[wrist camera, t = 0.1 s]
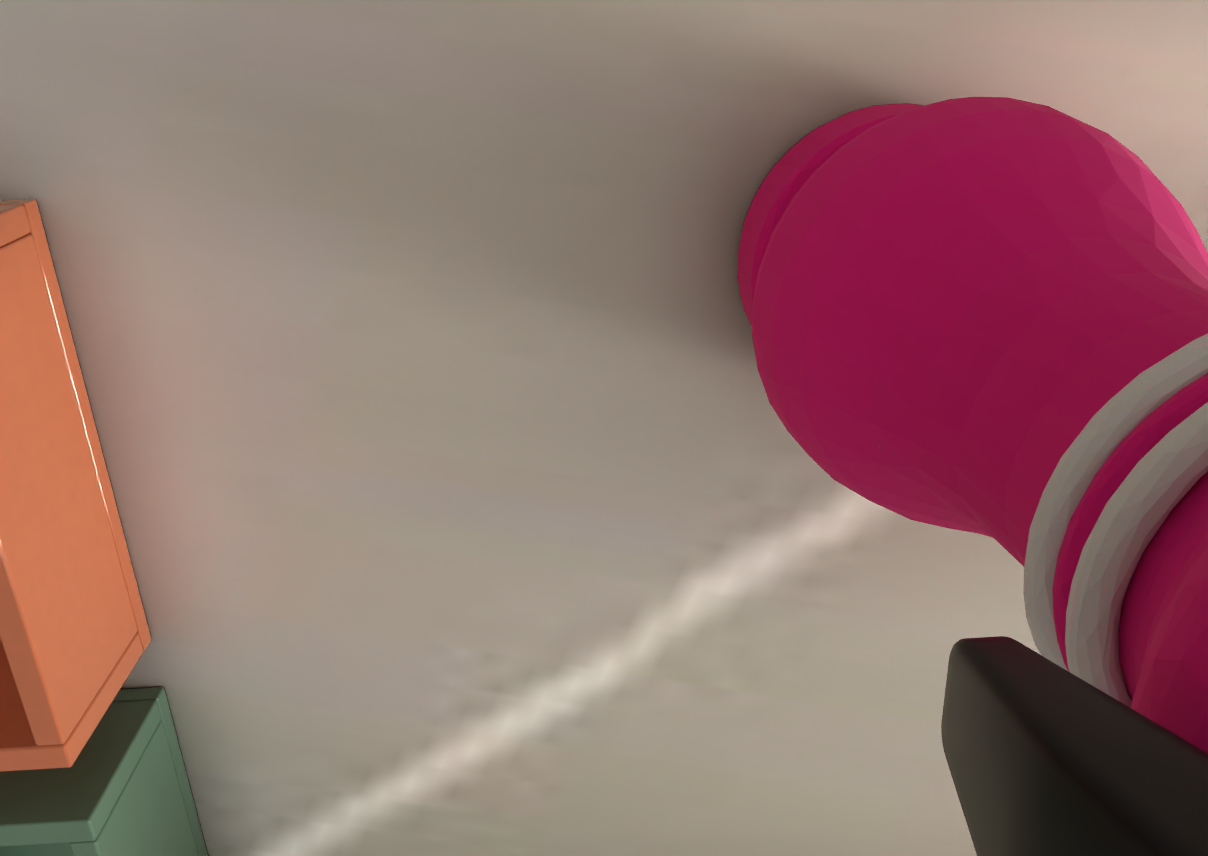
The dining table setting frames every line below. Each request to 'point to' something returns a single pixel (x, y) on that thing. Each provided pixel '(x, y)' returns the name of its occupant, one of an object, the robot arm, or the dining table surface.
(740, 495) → the dining table surface
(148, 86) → the dining table surface
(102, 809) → the green tub
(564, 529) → the dining table surface
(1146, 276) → the pepper mill
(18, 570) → the terracotta tub
